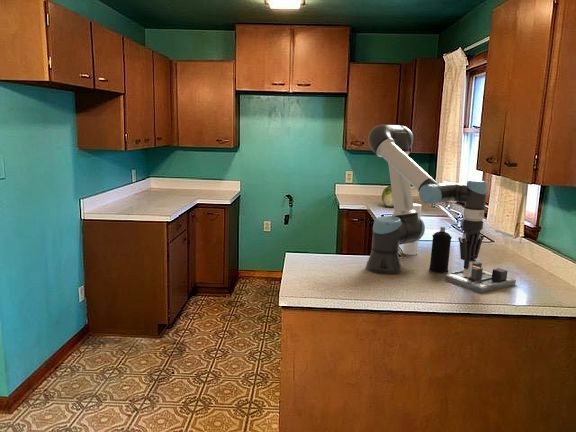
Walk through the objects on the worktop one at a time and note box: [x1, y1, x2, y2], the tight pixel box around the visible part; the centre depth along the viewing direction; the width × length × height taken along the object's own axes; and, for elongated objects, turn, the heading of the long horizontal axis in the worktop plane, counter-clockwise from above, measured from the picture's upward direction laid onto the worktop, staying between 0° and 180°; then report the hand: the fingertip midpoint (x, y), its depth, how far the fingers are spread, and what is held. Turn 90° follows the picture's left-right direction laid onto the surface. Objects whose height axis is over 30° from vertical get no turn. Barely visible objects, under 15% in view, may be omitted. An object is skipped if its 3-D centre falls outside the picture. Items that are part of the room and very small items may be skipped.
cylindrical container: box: [402, 202, 422, 256], centre depth 236 cm, size 7×7×25 cm
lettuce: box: [381, 184, 394, 208], centre depth 374 cm, size 17×23×16 cm
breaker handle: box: [467, 266, 484, 280], centre depth 193 cm, size 4×4×5 cm
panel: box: [444, 260, 517, 294], centre depth 195 cm, size 22×18×6 cm
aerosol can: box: [428, 226, 452, 274], centre depth 208 cm, size 8×8×20 cm
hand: (467, 276), depth 191 cm, fingers closed
